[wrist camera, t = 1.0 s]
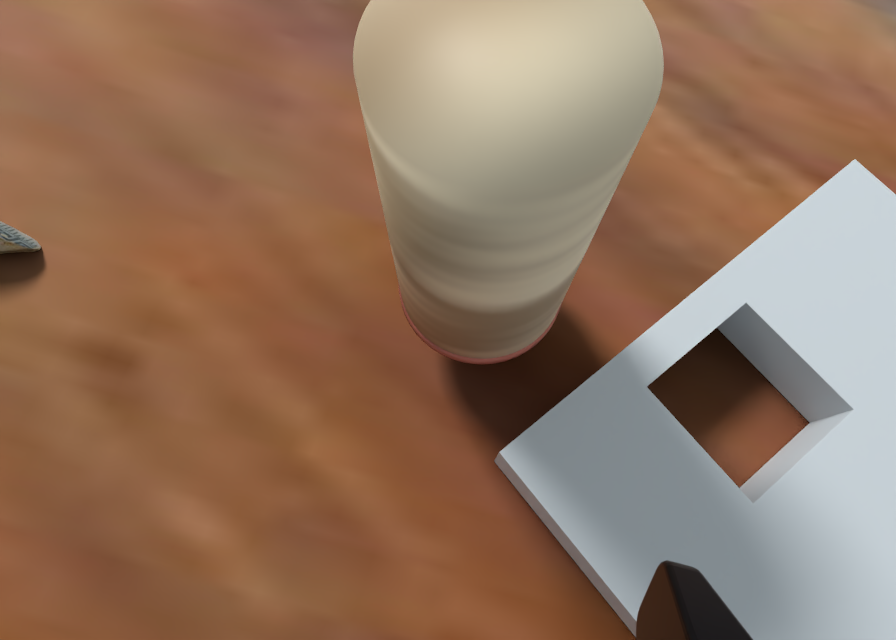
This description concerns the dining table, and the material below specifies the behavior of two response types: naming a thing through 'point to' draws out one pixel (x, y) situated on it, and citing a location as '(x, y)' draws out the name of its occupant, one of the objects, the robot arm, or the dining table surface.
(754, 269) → the grey board
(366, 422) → the dining table surface
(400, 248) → the maple leg
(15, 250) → the ceramic fragment
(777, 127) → the dining table surface
